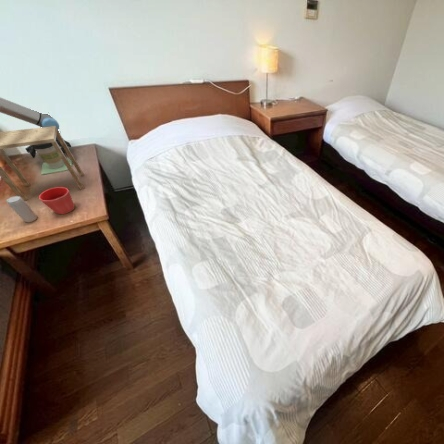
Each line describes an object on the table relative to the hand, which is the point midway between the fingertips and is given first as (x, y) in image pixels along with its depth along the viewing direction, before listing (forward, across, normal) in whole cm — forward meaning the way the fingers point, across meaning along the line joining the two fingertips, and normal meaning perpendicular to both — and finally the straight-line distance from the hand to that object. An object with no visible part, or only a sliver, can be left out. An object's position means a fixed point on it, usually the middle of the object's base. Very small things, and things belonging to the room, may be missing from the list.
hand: (48, 153), depth 140 cm
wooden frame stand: (+22, 0, -9) cm, 24 cm away
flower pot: (+46, -5, -9) cm, 47 cm away
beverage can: (+48, +8, -9) cm, 49 cm away
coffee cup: (-1, 0, -9) cm, 9 cm away
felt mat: (-1, 0, -9) cm, 9 cm away
